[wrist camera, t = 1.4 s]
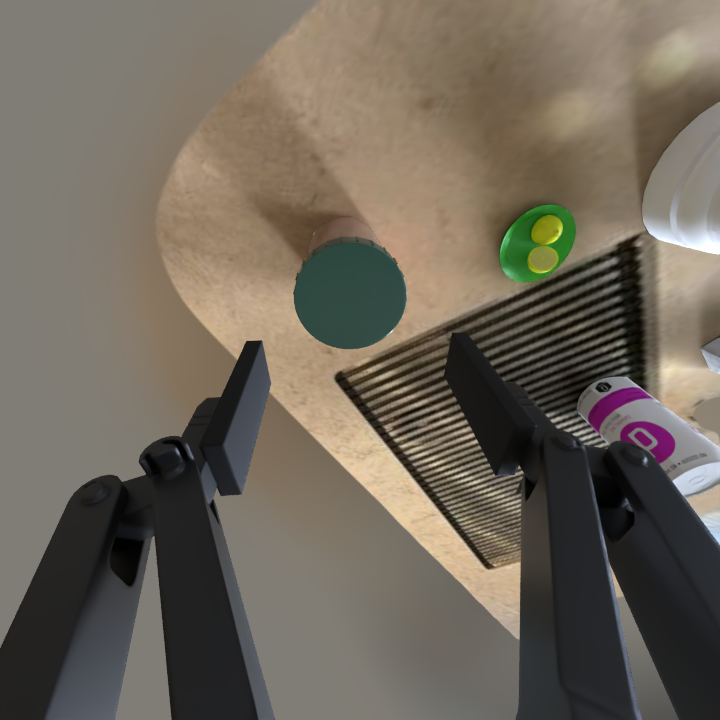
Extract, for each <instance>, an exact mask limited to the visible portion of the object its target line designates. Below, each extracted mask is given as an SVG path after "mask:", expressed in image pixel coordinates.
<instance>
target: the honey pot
mask: <svg viewBox="0 0 720 720" xmlns="http://www.w3.org/2000/svg"><path fill="white" fill-rule="evenodd" d="M642 216H643V223H644V225H645V227H646V228H647V230H648V232H649V234H651V235H652V236H654V237H655V238H657V239H658V240H661V241H665V242H669V243H672V244H676V245H680V246H684V247H688V248H693V249H696V250H701V251H703V252H708V253H714V254H720V101H719V102H718V103H716V104H715V105H713V106H712V107H710V108H709V109H707V110H706V111H704V112H702V113H701V114H699V115H698V116H697V117H696V118H695V119H694V120H693V121H692V122H691V123H690V124H689V125H687V126H686V127H685V128H684V129H683V130H682V131H681V132H680V133H679V134H678V135H677V137H676V138H675V139H674V140H673V141H672V143H671V144H670V145H669V146H668V148H667V149H666V150H665V151H664V153H663V154H662V156H661V158H660V159H659V161H658V163H657V164H656V166H655V168H654V170H653V171H652V173H651V175H650V178H649V181H648V183H647V186H646V189H645V191H644V196H643V203H642Z"/></svg>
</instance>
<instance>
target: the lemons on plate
mask: <svg viewBox="0 0 720 720" xmlns="http://www.w3.org/2000/svg"><path fill="white" fill-rule="evenodd" d="M575 234H576V227H575V222H574V218H573V217H572V215H571V213H570V212H569V211H568V210H567V209H565V208H564V207H561V206H559V205H554V204H549V205H542V206H538V207H536V208H533V209H531V210H529V211H528V212H526V213H525V214H523V215H522V216H521V217H520V218H519V219H518V220H516V221H515V222H514V224H513V225H512V226H511V227H510V229H509V230H508V232H507V234H506V235H505V237H504V240H503V242H502V245H501V249H500V263H501V267H502V269H503V271H504V273H505V274H506V275H507V276H508V277H509V278H511V279H512V280H515V281H517V282H532V281H536V280H539V279H541V278H544V277H546V276H547V275H549V274H550V273H552V272H553V271H554V270H555V269H557V268H558V267H559V266H560V265H561V263H562V262H563V261H564V260H565V258H566V257H567V256H568V254H569V252H570V250H571V248H572V246H573V243H574V240H575Z"/></svg>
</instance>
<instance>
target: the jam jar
mask: <svg viewBox="0 0 720 720" xmlns="http://www.w3.org/2000/svg"><path fill="white" fill-rule="evenodd" d="M340 236H342V237H356V236H357V237H360V238H364V239H367V240H372V241H373V242H374V243H376V244H378V245H380V246H381V247H382V245H381V243H380V241H379V240H378V238H377V236H376V234H375V233H374V231H373V230H372V229H371V228H370V227H369V226H368V225H367V224H366V223H364V222H363V221H361V220H359V219H357V218H354V217H349V216H340V217H335V218H332V219H330V220H328V221H326V222H324V223H323V224H322V225H320V226H319V228H318V229H317V230H316V231H315V233H314V234H313V236H312V238H311V241H310V244H309V249H308V253H307V257H308V255H309V254H310V253H311V252H312V251H313V249H316V248H317V247H318V246H320V245H321V244H323V243H325V241H326V240H327V241H330V240H332V239H335V238H340ZM307 257H306V258H307Z"/></svg>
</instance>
